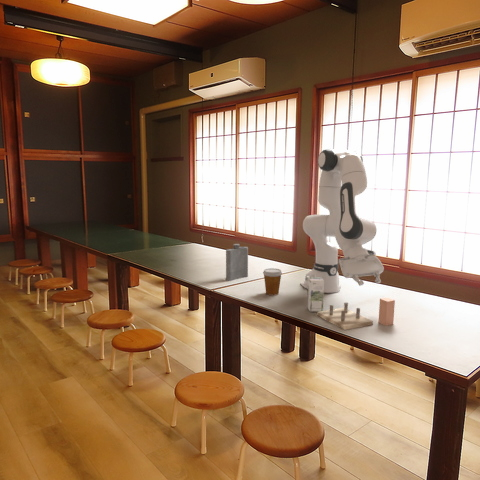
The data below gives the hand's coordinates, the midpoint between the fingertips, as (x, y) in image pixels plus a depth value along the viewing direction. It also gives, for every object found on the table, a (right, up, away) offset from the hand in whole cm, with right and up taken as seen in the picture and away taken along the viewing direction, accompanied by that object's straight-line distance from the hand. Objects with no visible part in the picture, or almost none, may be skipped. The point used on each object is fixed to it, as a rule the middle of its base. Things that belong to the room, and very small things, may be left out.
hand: (370, 283), depth 171 cm
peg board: (-12, -15, -3) cm, 19 cm away
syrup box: (-22, -13, +9) cm, 27 cm away
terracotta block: (+4, -15, -7) cm, 17 cm away
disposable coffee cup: (-39, -9, +34) cm, 52 cm away
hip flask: (-57, -4, +63) cm, 85 cm away
